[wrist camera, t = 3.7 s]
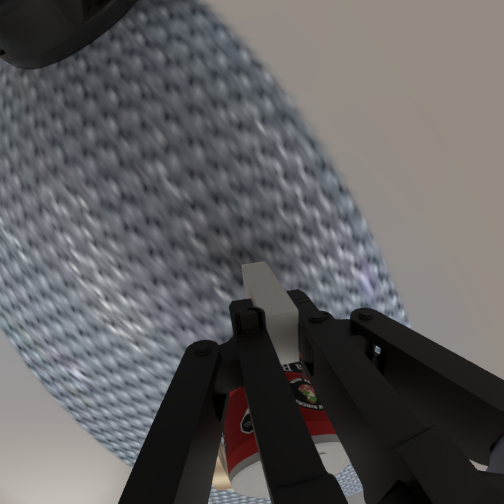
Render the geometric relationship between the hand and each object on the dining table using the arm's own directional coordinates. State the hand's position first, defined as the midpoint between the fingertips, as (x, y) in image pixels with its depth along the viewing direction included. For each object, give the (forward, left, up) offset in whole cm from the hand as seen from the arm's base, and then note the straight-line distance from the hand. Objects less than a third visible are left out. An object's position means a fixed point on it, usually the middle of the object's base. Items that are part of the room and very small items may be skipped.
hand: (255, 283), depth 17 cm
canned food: (+10, 0, -3) cm, 10 cm away
